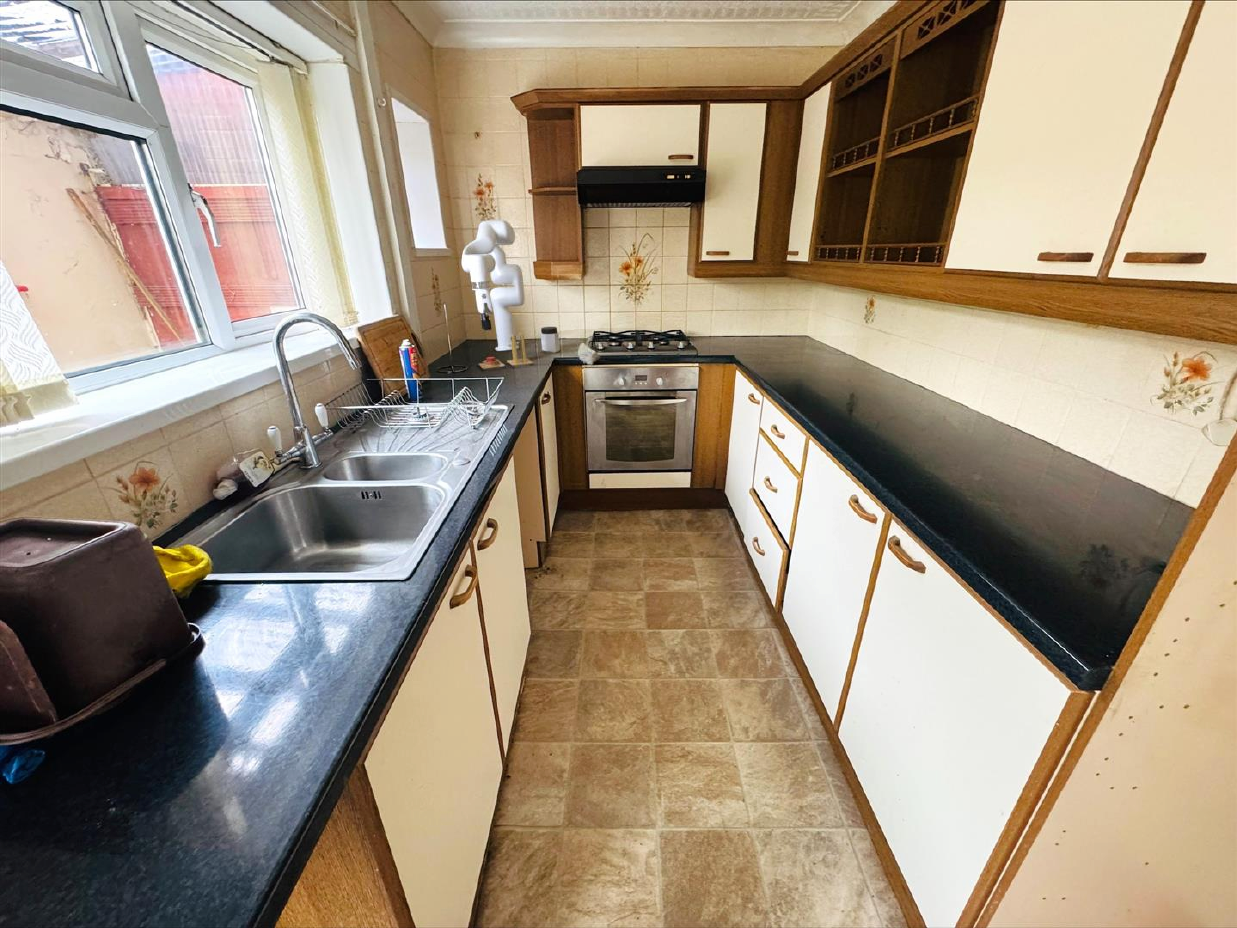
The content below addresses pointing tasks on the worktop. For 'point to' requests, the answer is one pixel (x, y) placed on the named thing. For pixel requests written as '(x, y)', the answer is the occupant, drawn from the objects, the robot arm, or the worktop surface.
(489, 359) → the button
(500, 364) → the switch block
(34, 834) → the worktop surface
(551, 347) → the jar
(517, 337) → the switch lever
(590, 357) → the grey rock
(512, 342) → the light wood peg stand
